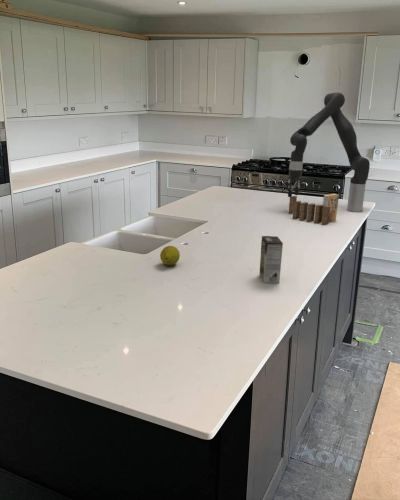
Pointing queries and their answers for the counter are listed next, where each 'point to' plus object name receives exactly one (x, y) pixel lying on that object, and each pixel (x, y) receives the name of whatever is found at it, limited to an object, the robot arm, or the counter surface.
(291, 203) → the domino
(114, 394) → the counter surface
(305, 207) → the domino
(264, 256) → the coffee box
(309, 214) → the domino
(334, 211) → the candy box
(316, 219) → the domino
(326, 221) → the domino
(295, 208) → the domino
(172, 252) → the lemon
